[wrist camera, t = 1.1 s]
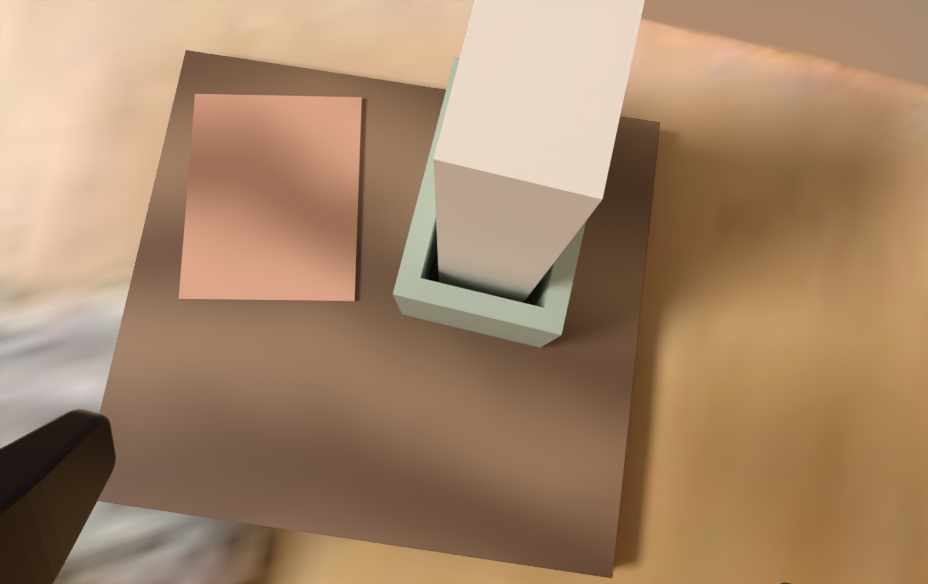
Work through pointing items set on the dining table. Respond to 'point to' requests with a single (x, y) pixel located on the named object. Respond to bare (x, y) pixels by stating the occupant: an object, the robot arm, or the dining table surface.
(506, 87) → the tall beige block
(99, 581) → the dining table surface
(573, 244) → the slot box
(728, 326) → the dining table surface
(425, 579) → the dining table surface
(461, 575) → the dining table surface
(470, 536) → the walnut board
